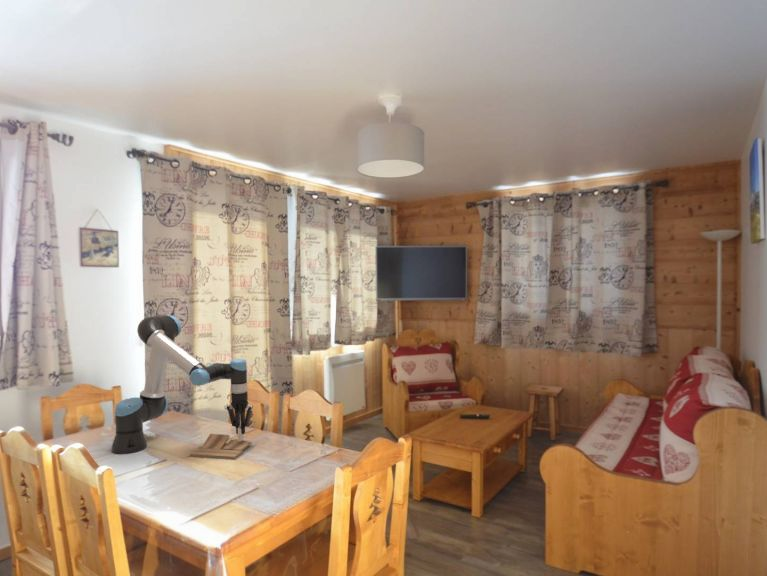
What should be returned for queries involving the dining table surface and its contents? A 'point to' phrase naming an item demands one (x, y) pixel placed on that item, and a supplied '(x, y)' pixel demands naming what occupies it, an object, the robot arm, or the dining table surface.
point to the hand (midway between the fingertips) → (240, 440)
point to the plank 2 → (237, 445)
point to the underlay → (219, 453)
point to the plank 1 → (216, 441)
